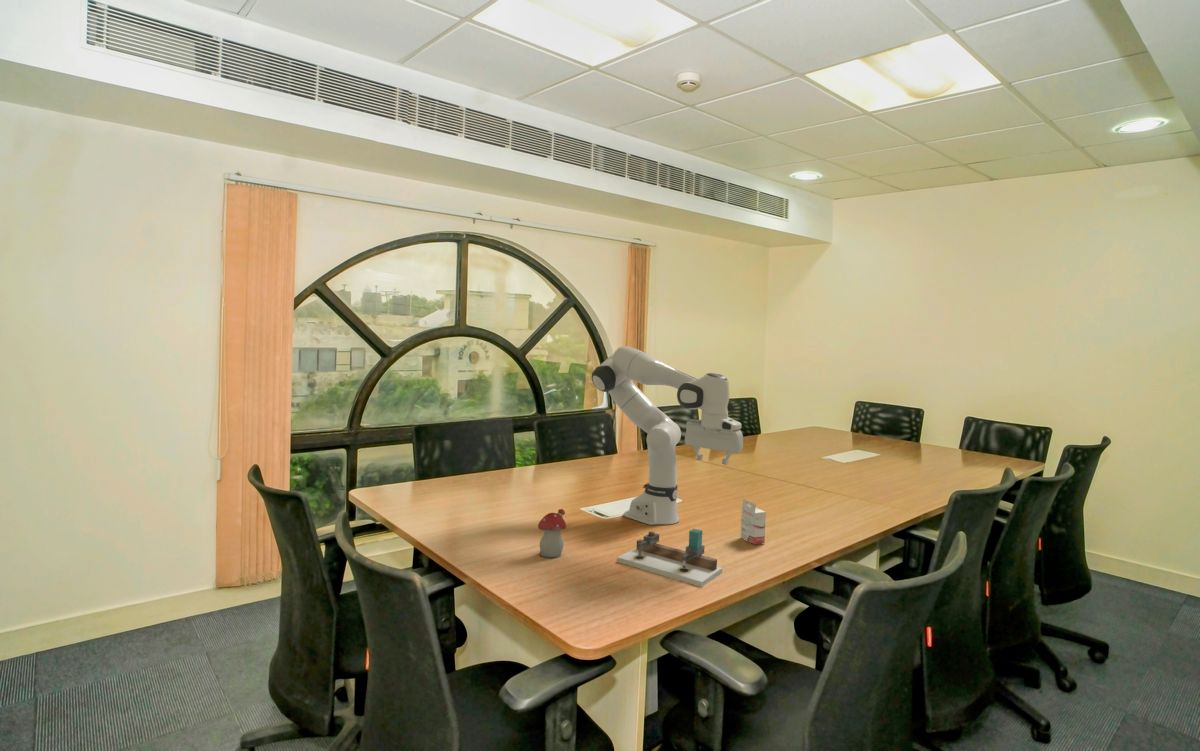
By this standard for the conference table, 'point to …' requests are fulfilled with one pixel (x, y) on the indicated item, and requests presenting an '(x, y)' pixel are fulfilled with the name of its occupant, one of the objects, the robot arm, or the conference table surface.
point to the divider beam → (672, 552)
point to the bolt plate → (669, 567)
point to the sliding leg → (693, 546)
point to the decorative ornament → (552, 534)
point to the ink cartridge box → (752, 523)
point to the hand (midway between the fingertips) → (712, 462)
